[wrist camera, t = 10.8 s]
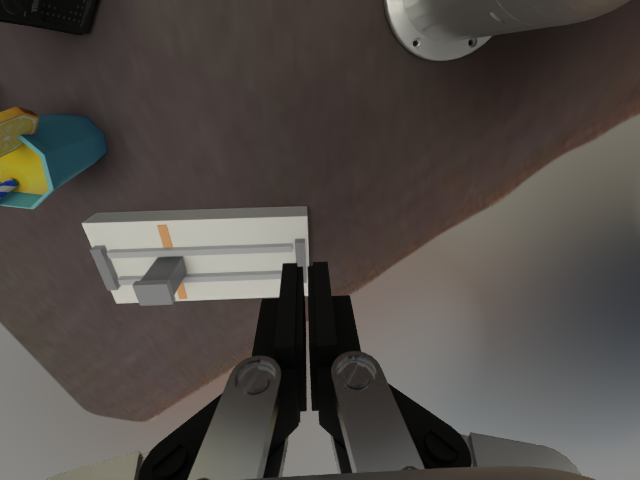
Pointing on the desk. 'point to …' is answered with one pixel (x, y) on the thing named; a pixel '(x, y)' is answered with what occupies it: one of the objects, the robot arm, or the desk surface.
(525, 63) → the desk surface
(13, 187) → the cup
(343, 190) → the desk surface
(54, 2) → the portable radio
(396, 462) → the robot arm
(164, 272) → the fader tab
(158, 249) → the slider track base
